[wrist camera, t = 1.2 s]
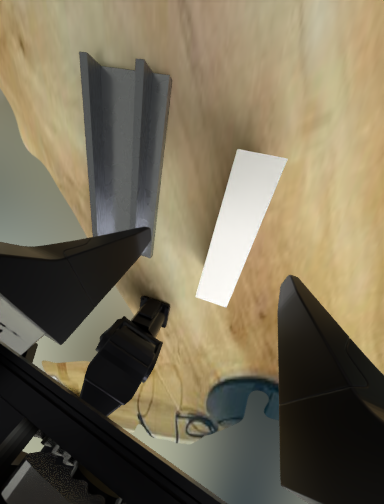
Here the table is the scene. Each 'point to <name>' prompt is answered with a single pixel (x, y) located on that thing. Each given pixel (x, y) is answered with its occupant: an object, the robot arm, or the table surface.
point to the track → (124, 144)
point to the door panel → (238, 222)
